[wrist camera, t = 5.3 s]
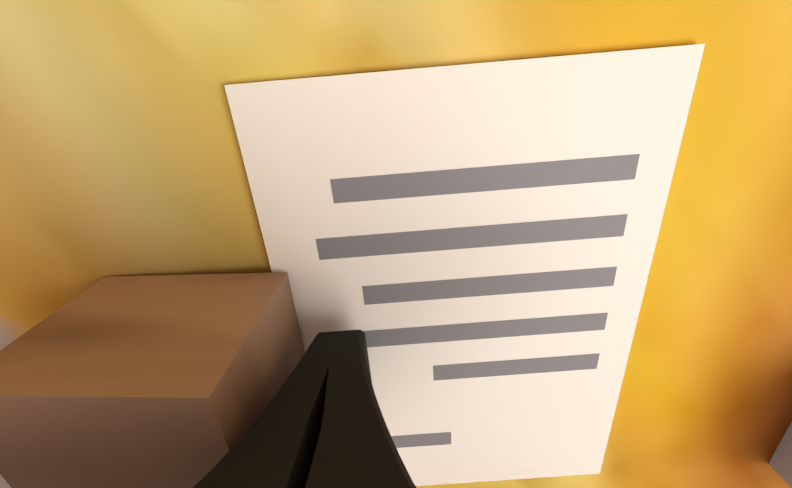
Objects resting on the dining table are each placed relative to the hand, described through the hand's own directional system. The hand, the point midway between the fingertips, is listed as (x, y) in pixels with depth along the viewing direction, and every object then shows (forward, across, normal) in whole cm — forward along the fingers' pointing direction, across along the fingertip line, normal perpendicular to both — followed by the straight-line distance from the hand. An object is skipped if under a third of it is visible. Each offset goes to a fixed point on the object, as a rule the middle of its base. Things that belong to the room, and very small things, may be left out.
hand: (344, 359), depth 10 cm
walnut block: (+1, +4, 0) cm, 4 cm away
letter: (+1, -3, 0) cm, 3 cm away
